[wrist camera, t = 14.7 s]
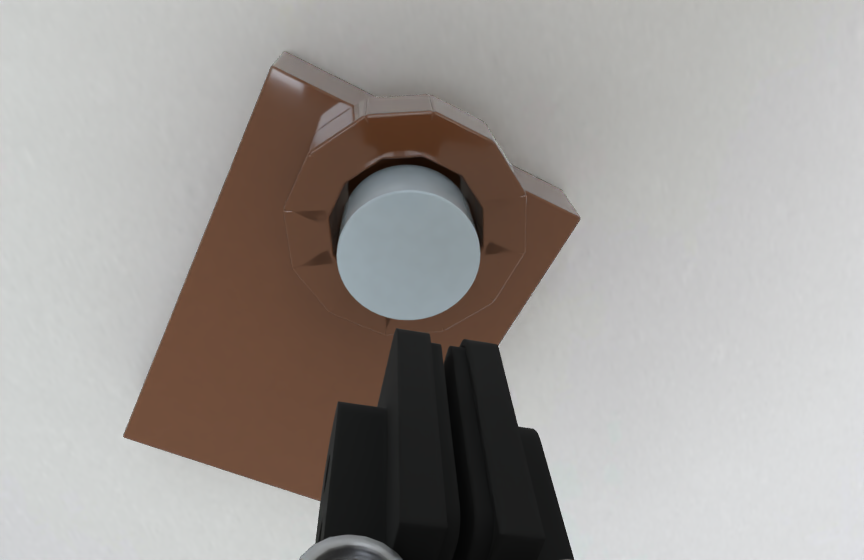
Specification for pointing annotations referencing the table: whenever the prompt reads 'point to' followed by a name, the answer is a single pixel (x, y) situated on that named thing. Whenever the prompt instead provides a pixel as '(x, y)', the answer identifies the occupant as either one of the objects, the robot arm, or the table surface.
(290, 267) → the brown mounting plate
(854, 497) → the table surface
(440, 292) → the pale blue short cylinder
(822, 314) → the table surface
